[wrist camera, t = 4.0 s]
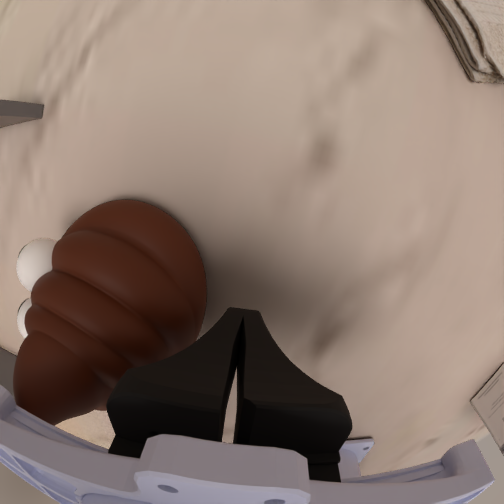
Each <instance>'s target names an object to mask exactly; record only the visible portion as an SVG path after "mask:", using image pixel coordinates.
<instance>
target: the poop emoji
mask: <svg viewBox="0 0 504 504" xmlns="http://www.w3.org/2000/svg"><path fill="white" fill-rule="evenodd" d="M17 275H18V278H19V280H20V282H21V284H22V285H23V286H24V287H25V288H26V289H27V290H29V291H30V292H31V297H30V298H28V299H26V300H25V301H24V302H23V303H22V304H21V306H20V307H19V310H18V317H17V323H18V328H19V331H20V333H21V334H22V336H23V337H24V338H25V340H24V341H23V343H22V345H21V347H20V349H19V352H18V355H17V358H16V362H15V366H14V373H13V393H14V399H15V402H16V405H17V406H19V407H21V408H22V409H24V410H26V411H27V412H29V413H31V414H32V415H34V416H36V417H38V418H40V419H42V420H43V421H45V422H47V423H49V424H51V425H53V426H54V425H56V424H58V423H60V422H62V421H64V420H67V419H70V418H73V417H77V416H80V415H84V414H87V413H89V412H91V411H93V410H100V411H106V410H107V408H106V403H107V400H108V398H109V396H110V394H111V393H112V391H113V389H114V387H115V386H116V384H117V383H118V381H119V380H120V378H121V377H122V376H123V375H124V374H125V372H126V371H127V370H128V369H131V368H135V367H140V366H144V365H148V364H151V363H154V362H157V361H160V360H163V359H165V358H168V357H170V356H172V355H174V354H176V353H178V352H180V351H182V350H184V349H185V348H187V347H189V346H190V345H192V344H193V343H194V342H196V340H197V337H198V335H199V332H200V329H201V326H202V323H203V319H204V315H205V308H206V298H207V288H206V277H205V271H204V267H203V263H202V260H201V257H200V255H199V252H198V250H197V248H196V246H195V244H194V242H193V241H192V239H191V238H190V236H189V235H188V233H187V232H186V231H185V230H184V228H183V227H182V226H181V225H180V224H179V223H178V222H177V221H176V220H175V219H173V218H172V217H171V216H170V215H168V214H167V213H165V212H164V211H162V210H160V209H159V208H157V207H154V206H152V205H150V204H147V203H144V202H140V201H135V200H115V201H110V202H106V203H103V204H101V205H98V206H96V207H94V208H92V209H91V210H89V211H87V212H86V213H85V214H83V215H82V216H81V217H80V218H78V219H77V220H76V221H75V222H74V223H73V224H72V225H71V226H70V228H69V229H68V230H67V231H66V233H65V234H64V235H63V237H62V238H61V239H60V240H59V241H58V242H57V241H55V240H53V239H49V238H40V239H36V240H33V241H31V242H30V243H28V244H27V245H26V246H24V247H23V248H22V250H21V251H20V253H19V256H18V260H17Z"/></svg>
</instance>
